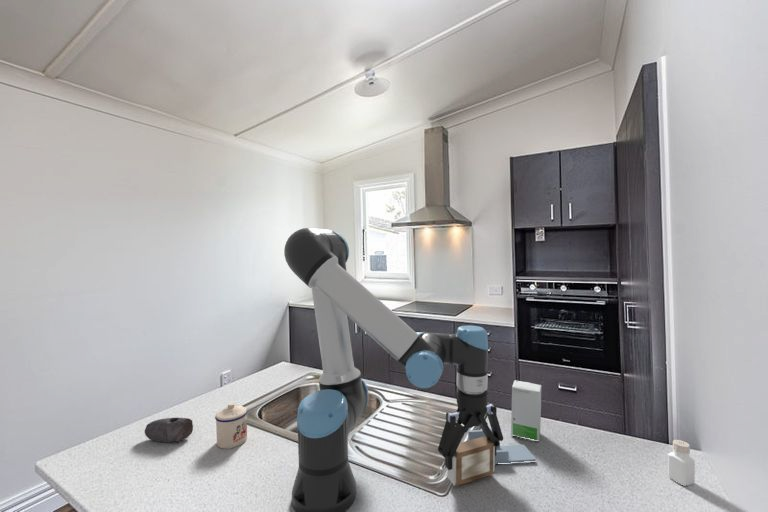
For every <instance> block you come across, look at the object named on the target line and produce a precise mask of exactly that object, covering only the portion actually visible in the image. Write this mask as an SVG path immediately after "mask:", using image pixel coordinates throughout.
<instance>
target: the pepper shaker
mask: <svg viewBox="0 0 768 512" xmlns="http://www.w3.org/2000/svg"><path fill="white" fill-rule="evenodd" d="M690 448H691V446H690V443H688V442H686V441H683V440H680V439H674V440H673V441H672V450H673V451H670V452H669V453H668V454H667V477H668V476H669V477H670V478H672V479H673V480H672V479H671V480H672V481H674V480H675V481H677V482H678V483H677V482H676V483H677V484H679V483H680V484H681V485H680V484H679V485H680V486H682V485H683V487H687V486H691V485H694V484H695V481H696V479H695V469H696V467H695V465H696V464H695V462H696V461H695V459H694V458H693V457H691V456H690V454H691V453H690V450H691V449H690ZM669 477H668V478H669ZM670 478H669V479H670ZM675 481H674V482H675ZM690 484H691V485H690ZM686 485H687V486H686Z"/></svg>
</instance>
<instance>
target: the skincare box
mask: <svg viewBox="0 0 768 512" xmlns="http://www.w3.org/2000/svg"><path fill="white" fill-rule="evenodd" d="M541 414H542V385H541V384H537V383H532V382H528V381H520V380H517V379H516V380H513V384H512V386H511V417H510V418H511V419H510V420H511V422H510V423H511V425H510V429H511V430H510V436H511V435H515V436H519V437H525V438H530V439H534V440H539V441H540V437H541V420H542V417H541V416H542V415H541Z"/></svg>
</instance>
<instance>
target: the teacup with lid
mask: <svg viewBox="0 0 768 512" xmlns="http://www.w3.org/2000/svg"><path fill="white" fill-rule="evenodd" d="M247 414H248V409H247V407H245V406H243V405H236V404H235V403H234V402H230V403H228V404H227V406H226V407H224V408H221V409H220V410H219V411H217V413H216V414H215V415H214V419H215V424H216V425H215V426H216V429H215V430H216V445H217V446H218V447H219V448H221V449H234V448H236V447H239V446H241V445H242V444H243V443H245V442H246V441H247V439H248V421H247V420H248V419H247V417H248V416H247Z"/></svg>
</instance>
